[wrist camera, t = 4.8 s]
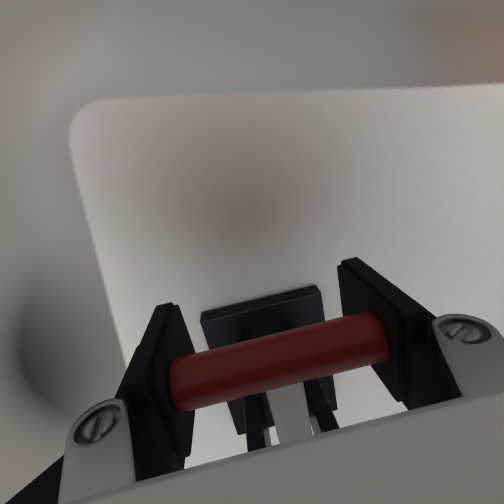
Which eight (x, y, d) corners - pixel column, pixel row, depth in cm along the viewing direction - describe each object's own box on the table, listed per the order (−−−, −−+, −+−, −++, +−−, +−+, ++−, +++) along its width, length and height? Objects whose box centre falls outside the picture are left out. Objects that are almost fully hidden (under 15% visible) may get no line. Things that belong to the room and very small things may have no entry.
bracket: (200, 312, 21) (174, 525, 9) (315, 284, 21) (438, 455, 9) (237, 423, 25) (252, 667, 13) (332, 398, 25) (432, 617, 14)
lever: (173, 337, 9) (160, 408, 7) (357, 291, 9) (403, 347, 7) (254, 521, 15) (261, 590, 12) (364, 491, 15) (390, 555, 13)
